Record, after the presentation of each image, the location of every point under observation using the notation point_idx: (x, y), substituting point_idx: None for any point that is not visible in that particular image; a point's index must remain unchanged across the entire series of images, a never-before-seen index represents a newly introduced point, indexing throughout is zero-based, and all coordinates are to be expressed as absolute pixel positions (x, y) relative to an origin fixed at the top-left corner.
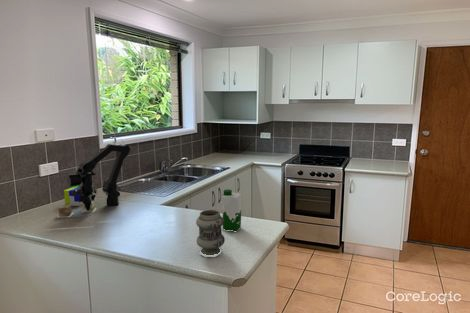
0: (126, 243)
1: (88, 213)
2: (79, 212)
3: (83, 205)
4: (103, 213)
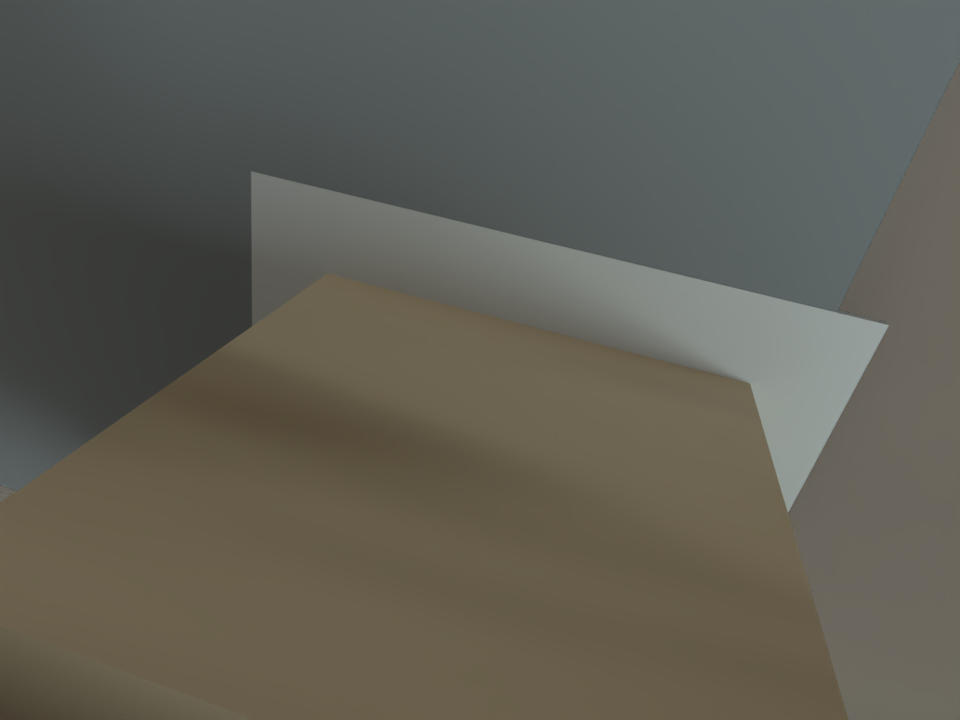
0: None
1: (93, 428)
2: (243, 72)
3: (84, 464)
4: None
